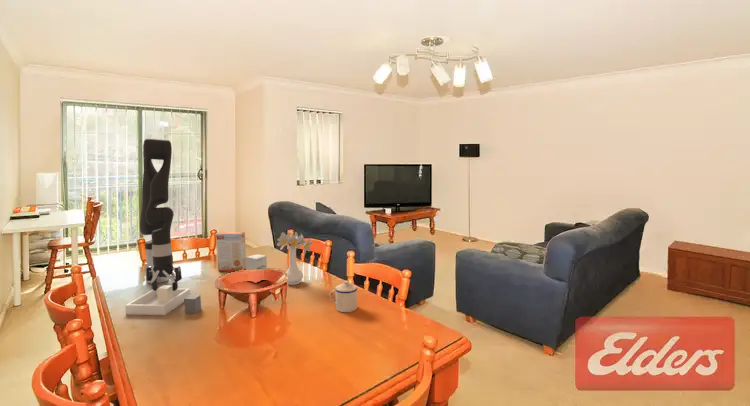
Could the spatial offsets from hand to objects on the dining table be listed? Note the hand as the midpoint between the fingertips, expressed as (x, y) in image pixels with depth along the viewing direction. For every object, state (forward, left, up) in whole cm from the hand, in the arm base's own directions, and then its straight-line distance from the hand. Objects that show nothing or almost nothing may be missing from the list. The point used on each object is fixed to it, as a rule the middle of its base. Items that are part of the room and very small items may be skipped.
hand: (165, 290), depth 173 cm
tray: (0, -5, -5) cm, 7 cm away
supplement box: (+30, +29, -5) cm, 42 cm away
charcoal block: (+17, -10, -5) cm, 20 cm away
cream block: (0, 0, -4) cm, 5 cm away
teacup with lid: (+78, -5, -5) cm, 78 cm away
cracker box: (+10, +47, -5) cm, 49 cm away
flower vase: (+50, +27, -5) cm, 57 cm away
